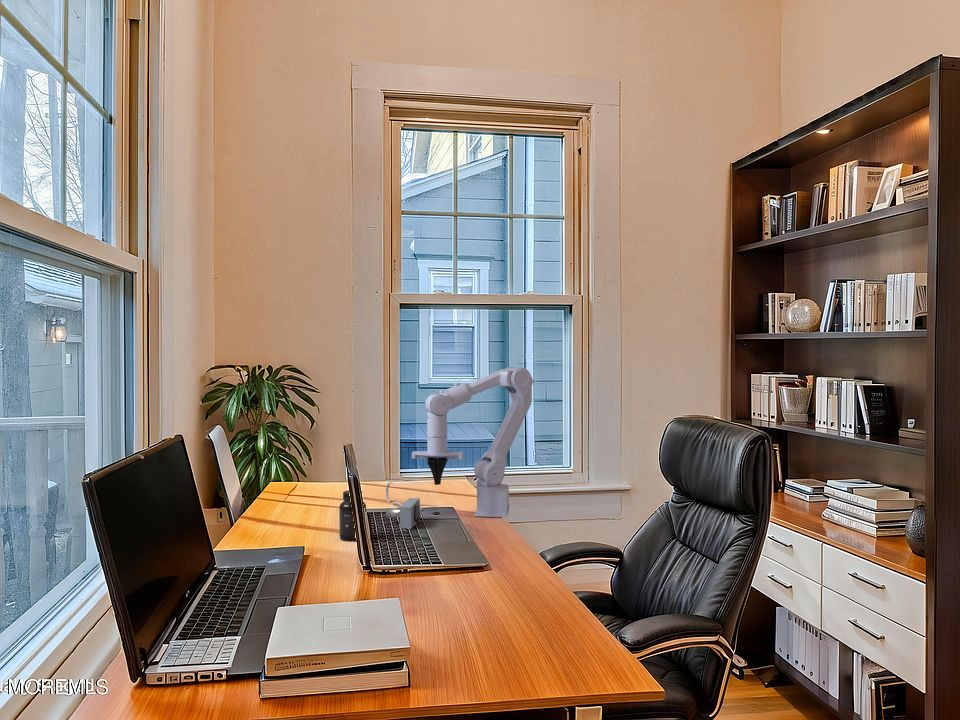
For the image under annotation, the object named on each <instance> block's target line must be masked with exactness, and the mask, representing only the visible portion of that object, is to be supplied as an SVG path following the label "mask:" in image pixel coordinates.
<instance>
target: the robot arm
mask: <svg viewBox="0 0 960 720" xmlns="http://www.w3.org/2000/svg"><path fill="white" fill-rule="evenodd" d="M533 384H534V379H533V376H532V375H531V373H530V371H529V370H528V369H527V368H525V367H512V366H508V367H506V368H501V369H499V370H496V371H494V372H492V373H489V374H488V375H485V376H484V377H481V378H479V379H477V380H475V381H473V382H471V383H469V384H466V383H465V382H461V383H460V382H455V383H453V386H451V387H450V388H447V389H445V390H444V389H440V390H439V394H438V393H433V394H431V395H428V397H427V398H426V400H425V403H424V404H423V405H424V408H425V411H426V412H427V422H426V424H427V425H426V432H427V433H426V434H427V438H426V439H427V440H426V441H427V442H426V443H427V450H413V451H412V452H411V459H414V460H415V459H421V460H422V459H426V460H427V461H426V463H427V466H428V468H429V469H430V471H431V475H432V476H433V482H434V485H436V486H440V485H441V484H442V476H443V473H444V470H445V467H446V464H447V462H448V460H463V459H464V452H463V451H453V450H448V413H449V412H450V410H453V409H455V408H457V407H459V406H462V405H464V404H466V403H468V402H469V403H470V402H471V400H472V398H473V395H476V394H479V393H481V392H483V391H486V390H488V389H491V388H494V387H496V386H503V387H504V388H505V389H506V391H508V394H509V395H510V398H511V400H512V402H511V403H510V406H509V408H508V410H507V412H506V414H505V416H504V418H503V421H502V423H501V425H500V427H499V428H498V431H497V432H496V435H495V437H494V439H493V441H492V443H491V445H490V447H489V449H487V450H486V452H484V453H483V455H482V456H481V458H480V459H479V460H478V461H477V462H475V465H474V467H473V472H474V473H473V474H474V475H475V477H476V478H477V481H476V511H475V512H474V514H473V517H480V518H481V517H485V518H486V517H487V518H488V517H489V518H507V517H508V515H509V513H510V512H509V511H510V501H509V500H510V495H509V493H510V489H509V484H505V483H504V484H503V483H502V481H504V477H505V469H506V467H507V463H508V462H507V455H508V453H509V452H510V449H511V448H512V445H513V443H514V441H515V439H516V436H517V434H518V433H519V430H520V428H521V426H522V424H523V423H524V420H525V418H526V415H527V414H528V412H529V409H530V407H531V405H532V403H533V392H532V391H533Z"/></svg>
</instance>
